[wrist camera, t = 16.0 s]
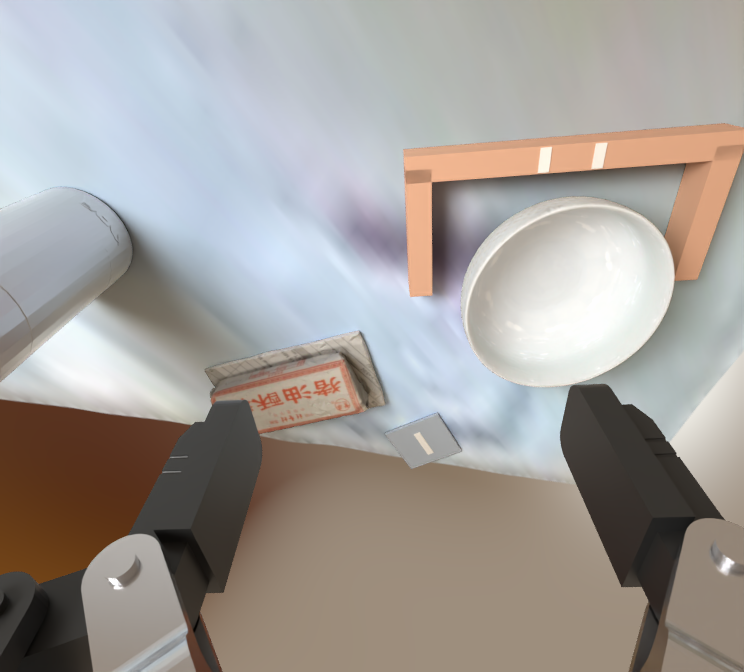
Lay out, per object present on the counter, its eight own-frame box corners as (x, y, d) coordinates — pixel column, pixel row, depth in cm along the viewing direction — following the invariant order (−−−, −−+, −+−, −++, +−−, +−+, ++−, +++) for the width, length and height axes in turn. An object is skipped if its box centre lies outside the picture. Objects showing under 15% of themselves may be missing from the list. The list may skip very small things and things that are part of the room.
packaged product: (235, 456, 50) (191, 392, 45) (246, 425, 54) (207, 364, 49) (386, 426, 47) (358, 353, 42) (386, 396, 51) (360, 326, 46)
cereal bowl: (607, 344, 46) (640, 388, 40) (447, 346, 47) (457, 390, 41) (660, 176, 37) (713, 201, 31) (459, 182, 37) (473, 208, 31)
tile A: (411, 466, 57) (411, 469, 57) (385, 432, 54) (385, 435, 53) (461, 448, 55) (461, 451, 55) (437, 412, 52) (437, 415, 51)
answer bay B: (678, 265, 41) (698, 279, 38) (408, 281, 42) (410, 297, 40) (724, 123, 34) (752, 129, 32) (403, 149, 36) (405, 157, 33)
